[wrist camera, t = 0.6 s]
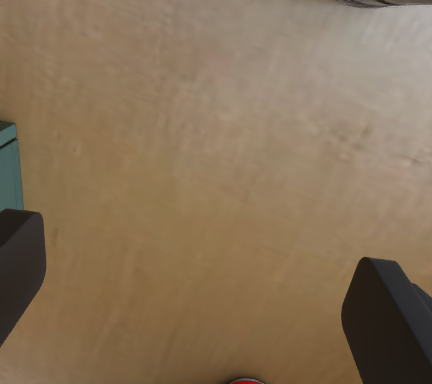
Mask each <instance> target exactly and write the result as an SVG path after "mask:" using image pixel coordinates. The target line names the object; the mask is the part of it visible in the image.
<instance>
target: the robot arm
mask: <svg viewBox="0 0 432 384" xmlns="http://www.w3.org/2000/svg"><path fill="white" fill-rule="evenodd" d="M337 1H339V2H341V3H343V4H346V5H349V6H353V7H359V8H398V7H387V6H402V5H432V0H337ZM45 272H46V253H45V239H44V224H43V218H42V215H41V214H40V213H39V212H33V211H25V210H18V209H10V208H6V209H4V210H2V211H1V212H0V347H1V345H2V344H3V342H4V341H5V340H6V338H7V337H8V335H9V334H10V332H11V331H12V329H13V328H14V326H15V325H16V323H17V322H18V320H19V319H20V317H21V316H22V314H23V313H24V311H25V310H26V308H27V307H28V305H29V304H30V302H31V301H32V299H33V298H34V296H35V295H36V294H37V292H38V291H39V289H40V287H41V285H42V283H43V280H44V277H45ZM341 320H342V327H343V330H344V333H345V335H346V338H347V341H348V344H349V346H350V349H351V352H352V355H353V357H354V360H355V363H356V366H357V368H358V371H359V374H360V377H361V379H362V382H363V384H432V298H431V297H430V296H429V295H428V294H427V293H426V292H424V291H423V290H422V289H421V288H420V287H418V286H417V285H416V284H413V283H411V282H410V281H409V279H408V278H407V276H406V275H405V273H404V272H403V270H402V269H401V267H400V266H399V264H398V263H397V262H395V261H392V260H384V259H377V258H369V257H363V258H362V259H361V260H360V261H359V263H358V265H357V268H356V270H355V273H354V275H353V278H352V281H351V283H350V286H349V289H348V291H347V294H346V297H345V299H344V302H343V305H342V312H341Z"/></svg>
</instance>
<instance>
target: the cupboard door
mask: <svg viewBox="0 0 432 384" xmlns="http://www.w3.org/2000/svg"><path fill="white" fill-rule="evenodd" d="M15 137H16V125H15V124H14V123H7V122H1V121H0V146H1V145H3V144H5V143H6V142H8V141H10V140H11V139H13V138H15Z"/></svg>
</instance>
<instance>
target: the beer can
mask: <svg viewBox="0 0 432 384" xmlns="http://www.w3.org/2000/svg"><path fill="white" fill-rule="evenodd" d="M229 384H263V383H261V382H260V381H258V380H254V379H249V378H243V379H237V380H234V381H232V382H230V383H229Z"/></svg>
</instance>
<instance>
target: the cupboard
mask: <svg viewBox="0 0 432 384" xmlns="http://www.w3.org/2000/svg"><path fill="white" fill-rule="evenodd" d="M6 208H10V209H18V210H24V208H23V196H22V184H21V172H20V160H19V148H18V139H11V140H10V141H8V142H6V143H5V144H3V145H1V146H0V212H1V211H2V210H4V209H6Z"/></svg>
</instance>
